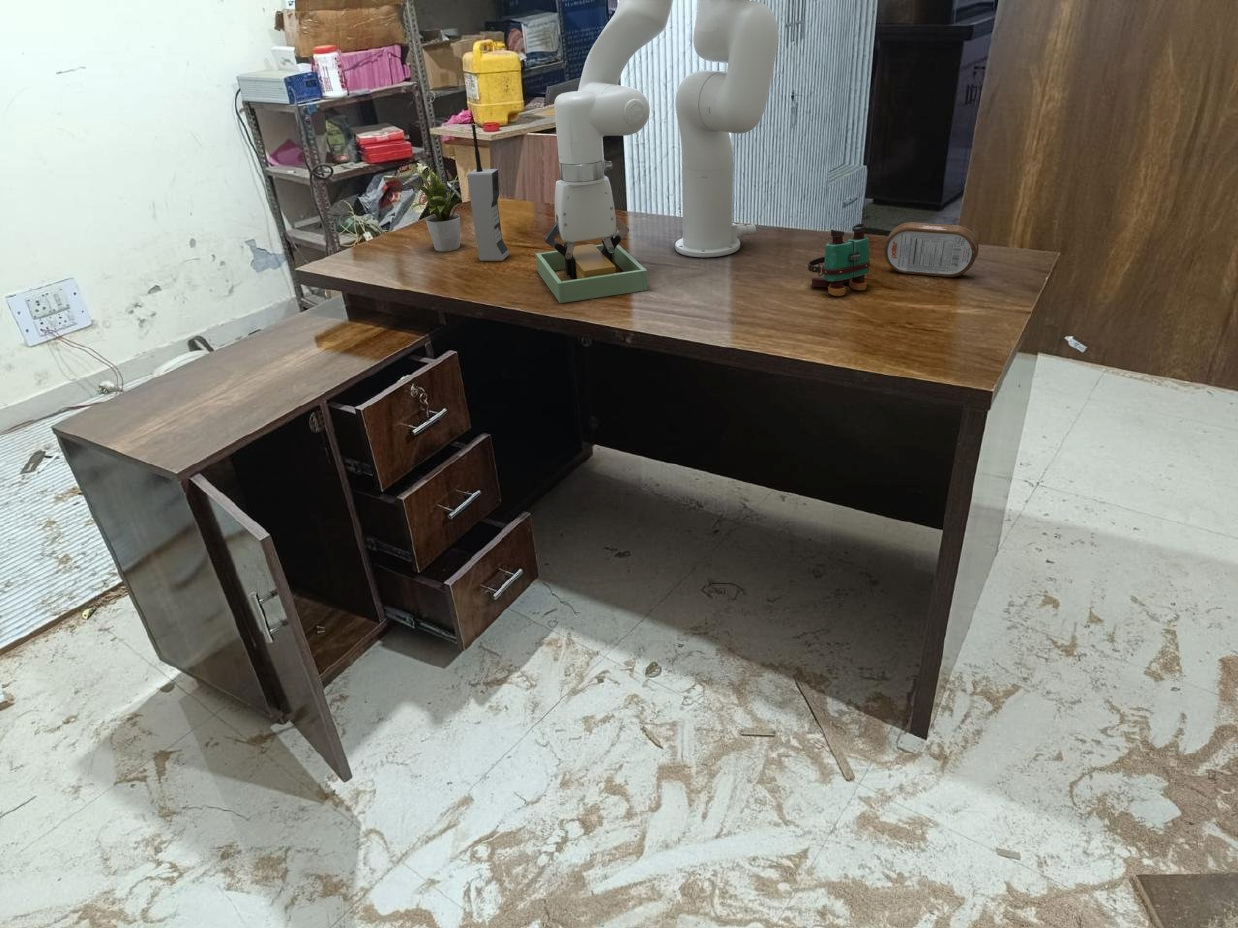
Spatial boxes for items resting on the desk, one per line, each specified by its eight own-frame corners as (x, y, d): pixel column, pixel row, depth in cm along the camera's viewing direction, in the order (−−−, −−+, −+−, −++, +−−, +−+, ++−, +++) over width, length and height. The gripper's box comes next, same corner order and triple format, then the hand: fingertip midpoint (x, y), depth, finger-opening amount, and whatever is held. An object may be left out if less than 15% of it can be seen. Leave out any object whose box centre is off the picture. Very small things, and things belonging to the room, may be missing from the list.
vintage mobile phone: (503, 261, 163) (485, 125, 151) (479, 261, 164) (459, 126, 152) (509, 255, 167) (492, 122, 154) (485, 255, 168) (466, 122, 155)
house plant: (393, 251, 174) (377, 169, 166) (445, 234, 183) (433, 156, 174) (437, 261, 166) (422, 176, 157) (489, 244, 175) (478, 162, 166)
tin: (974, 275, 142) (982, 225, 138) (972, 281, 140) (981, 230, 135) (883, 267, 148) (888, 220, 144) (880, 273, 145) (885, 224, 141)
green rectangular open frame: (617, 260, 160) (616, 242, 158) (647, 290, 145) (646, 270, 143) (537, 272, 157) (535, 253, 155) (560, 303, 141) (558, 283, 139)
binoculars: (838, 217, 142) (880, 223, 134) (837, 279, 146) (878, 288, 138) (796, 226, 139) (836, 233, 130) (796, 289, 143) (835, 299, 135)
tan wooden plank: (594, 266, 158) (592, 243, 155) (617, 291, 145) (615, 266, 143) (565, 271, 156) (563, 247, 154) (585, 295, 144) (583, 270, 142)
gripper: (624, 162, 146) (629, 263, 155) (527, 173, 142) (538, 276, 151) (637, 170, 140) (641, 275, 149) (536, 182, 136) (547, 289, 145)
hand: (589, 275), depth 150 cm, fingers closed on tan wooden plank, 5 cm apart
